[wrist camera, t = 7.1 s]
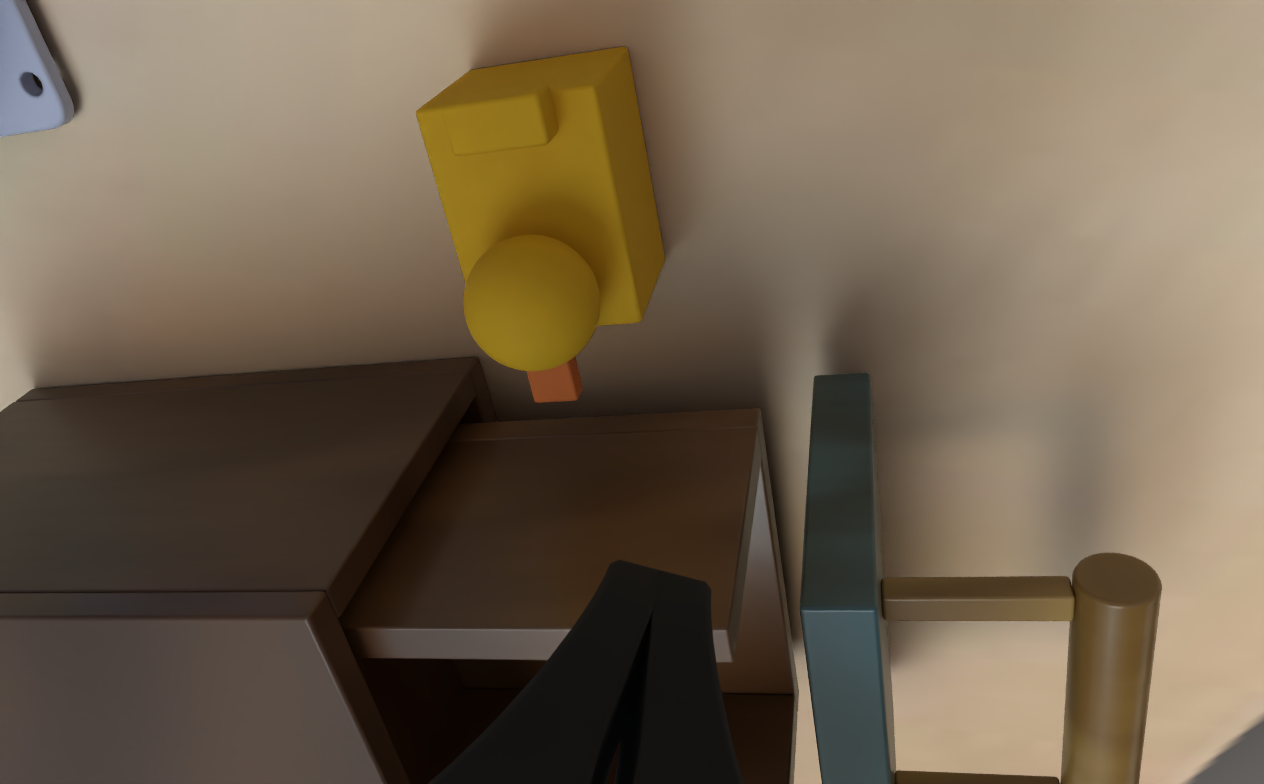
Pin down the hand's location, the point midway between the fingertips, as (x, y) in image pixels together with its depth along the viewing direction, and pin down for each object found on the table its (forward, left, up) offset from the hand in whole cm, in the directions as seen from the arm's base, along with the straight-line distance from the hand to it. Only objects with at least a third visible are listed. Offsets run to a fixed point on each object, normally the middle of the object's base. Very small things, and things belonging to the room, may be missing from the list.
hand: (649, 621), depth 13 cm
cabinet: (+6, -13, -10) cm, 17 cm away
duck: (-3, -3, -10) cm, 11 cm away
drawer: (+6, -1, -9) cm, 11 cm away
